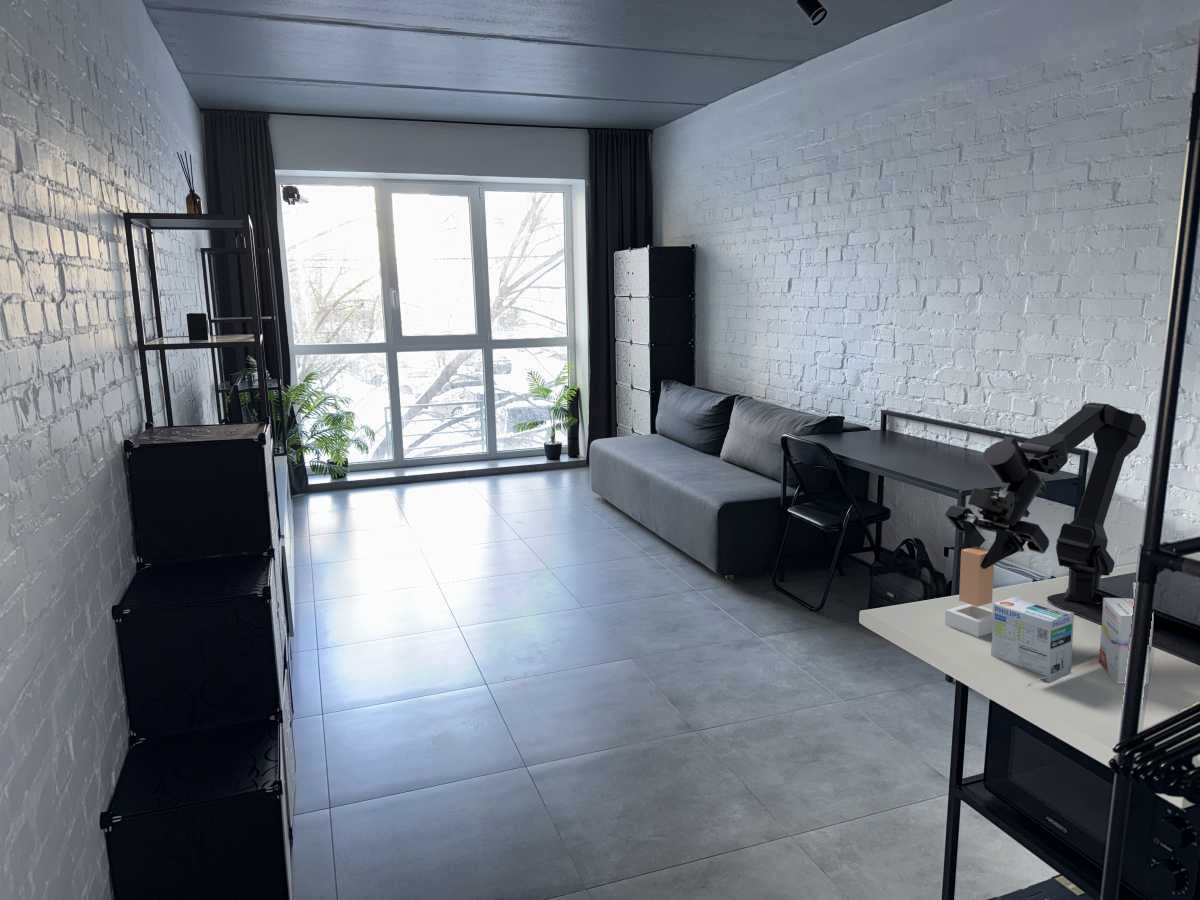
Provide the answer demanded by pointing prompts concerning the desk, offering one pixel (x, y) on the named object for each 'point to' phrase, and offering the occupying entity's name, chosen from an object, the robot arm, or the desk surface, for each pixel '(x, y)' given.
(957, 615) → the white square socket
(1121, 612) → the ink cartridge box
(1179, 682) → the desk surface
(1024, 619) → the light bulb box
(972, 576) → the plug
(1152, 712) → the desk surface
